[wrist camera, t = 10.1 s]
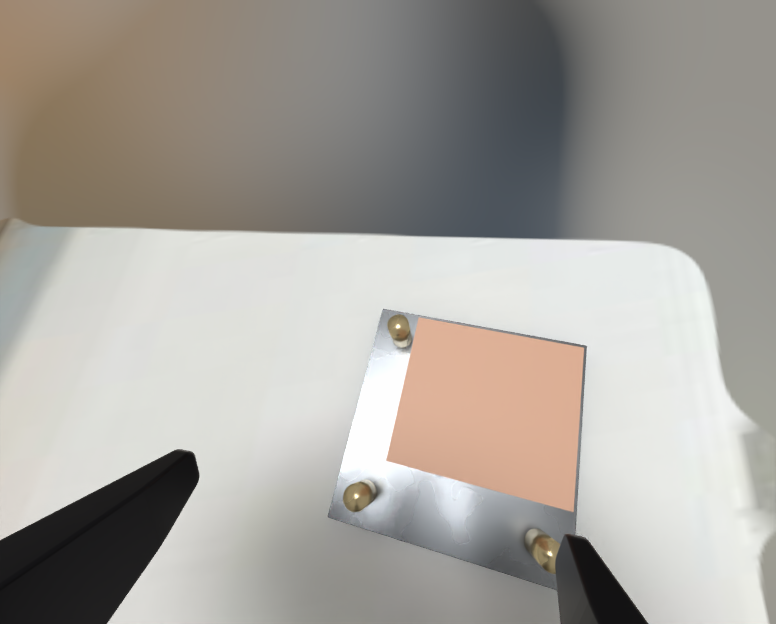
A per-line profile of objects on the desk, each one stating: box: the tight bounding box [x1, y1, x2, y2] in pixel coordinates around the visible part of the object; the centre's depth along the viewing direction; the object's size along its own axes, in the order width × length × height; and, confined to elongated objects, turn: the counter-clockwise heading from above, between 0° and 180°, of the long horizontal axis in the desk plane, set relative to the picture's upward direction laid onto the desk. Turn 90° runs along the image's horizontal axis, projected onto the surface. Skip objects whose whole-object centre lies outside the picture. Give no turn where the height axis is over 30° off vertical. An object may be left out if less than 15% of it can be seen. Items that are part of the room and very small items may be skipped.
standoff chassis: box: [328, 309, 587, 590], centre depth 19 cm, size 12×12×3 cm
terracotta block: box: [386, 317, 584, 512], centre depth 14 cm, size 4×4×11 cm
